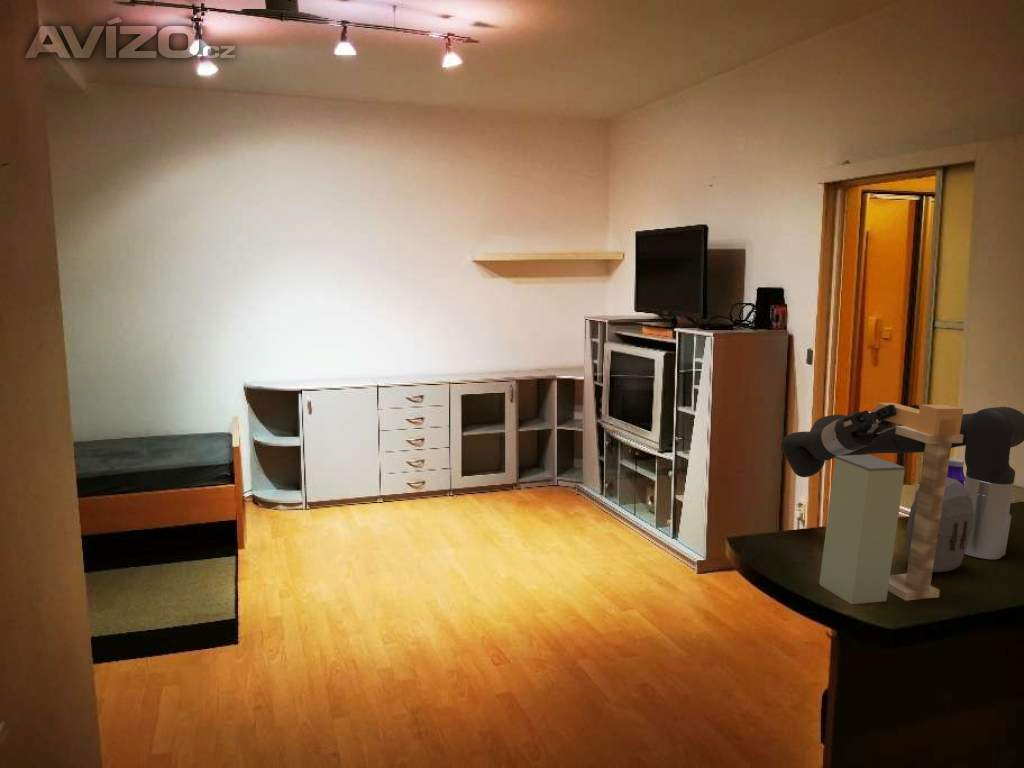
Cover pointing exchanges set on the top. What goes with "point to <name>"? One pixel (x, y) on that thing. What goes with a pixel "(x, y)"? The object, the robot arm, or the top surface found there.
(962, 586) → the top surface
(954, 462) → the bottle
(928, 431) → the orange wooden block
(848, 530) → the tall grey-green pillar
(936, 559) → the soft grey pack
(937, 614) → the top surface
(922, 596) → the tan table
